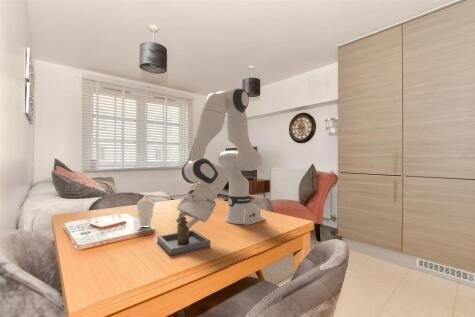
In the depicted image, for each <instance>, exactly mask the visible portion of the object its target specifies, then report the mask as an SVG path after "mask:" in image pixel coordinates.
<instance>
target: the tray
mask: <svg viewBox="0 0 475 317" xmlns="http://www.w3.org/2000/svg"><path fill="white" fill-rule="evenodd" d="M156 239H157V244H158V245H159V246H160V247H161V248H163V250H164V251H165V253H167V254H168V255H169V256H170V257H173V256H177V255H181V254H186V253H190V252H193V251H199V250H203V249H207V248H208V249H209V248H210V247H211V240H210V239H209V238H207V237H206V236H204V235H203V234H201V233H199V232H198V231H196V230H194V229H189V243H188V244H186V245H179V244H178V242H177V232H173V233H168V234H162V235H161V234H160V235H157V238H156Z"/></svg>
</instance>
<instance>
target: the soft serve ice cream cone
mask: <svg viewBox="0 0 475 317" xmlns="http://www.w3.org/2000/svg"><path fill="white" fill-rule="evenodd" d="M155 205H156V204H155V201H153V200H152V198H151V197H150V195H148V194H144V196H143V197H142V198H140V199H139V201H137V203H136V206H137V212H138V219H139V225H140V227H141V226H147V225H148V226H150V227H151V223H152V218H153V216H154V215H153V213H154V207H155Z"/></svg>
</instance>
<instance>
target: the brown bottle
mask: <svg viewBox="0 0 475 317" xmlns="http://www.w3.org/2000/svg"><path fill="white" fill-rule="evenodd" d="M187 222H189V221H187V217H186V216H183V217H181V218H180V221H179V223H177V224H176V226H177V227H176V228H177V230H176V233H177V242H178V244H179V245H186V244H188V243H189V230H190V228H187V227H186V226H185V225H186V224H187Z"/></svg>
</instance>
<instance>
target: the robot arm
mask: <svg viewBox="0 0 475 317" xmlns="http://www.w3.org/2000/svg"><path fill="white" fill-rule="evenodd" d="M249 100H250V99H249V94H248V93H247V91H246V90H245V89H244V88H234V89H231V88H230V89H229V88H228V89H224V90H220V91H215V92H212V93H209V94H208V96H207V97H206V99H205V102H204V103H203V107H202V110H201V112H200V113H201V114H200V117H199V122H198V126H197V130H196V131H197V132H196V136H195V138H194V140H193V144H192V148H191V152H190V154H189V157H188V159H187V161H186V162H185V164H184V165H183V166H182V168H181V176H182V179H183V180H184V181H185V182H187V183H188V184H197V183H199V184H200V185H199V186H198V187H197V188H194V189H190V190H188V191H187V193H186V195H185V196H184V197H183V198H182V200H181V201H180V202H179V204H177V207H176V210H177V211H178V212H179V213H178V216H177V218H176V219H175V222H176V223H177V224H179V221H180V218H181V217H183V216H184V217H186V216H188V217H190V218H191V219H190V221H188V222H187V224H186V225H185V226H186V227H187V228H189V229H191V228H192V227H193V225H195V224H197V223H198V222H202V223H206V222H207V221H208V220H209V219H210V218H211V215H212V214H213V212H214V210H215V207H216V204H217V202H216V201H215V200H216V199H217V196H218V195H219V193H221V192H222V191H223V189H224V188H225V187H226V185H227V184H228V196H227V197H228V198H227V203H228V208H227V212H226V217H225V222H226V223H228V224H233V225H246V226H248V225H252V224H255V223H256V224H257V223H260V222H263V221H265V220H266V218H265V217H264V216H263V215H262V213H261V209H260V208H259V206H257V205H256V204H255V203H253V201H254V200H255V199H256V197H255V195H254V196H253V195H250V182H249V179H248V178H246V177H245V176H244V175H243V173H242V171H250V172H251V171H257V170H259V169H260V167H261V166H262V163H263V158H262V155H261V153H260V152H258V151H257V150H256V149H255V148H254V146H253V145H252V143H251V140H250V137H249V130H248V129H249V128H248V125H249V124H248V118H247V112H246V109H247V108H248V106H249ZM226 114H227V115H226ZM225 120H226V127H227V128H226V129H227V139H228V142H230V143H231V144H233V146H234V147H235V148H236V149H235V150H225V151H221V153H220V154H219V157H218V164H216V163H213V162H211V161H210V159H207V158H205V154H206V151H207V147H208V145H209V144H210V142H212V140H214V139H215V137H217V136H218V135H219V134H220V133H221V132H222V129H223V126H224V124H225Z"/></svg>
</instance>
